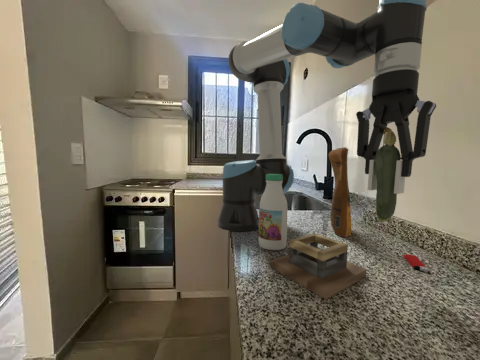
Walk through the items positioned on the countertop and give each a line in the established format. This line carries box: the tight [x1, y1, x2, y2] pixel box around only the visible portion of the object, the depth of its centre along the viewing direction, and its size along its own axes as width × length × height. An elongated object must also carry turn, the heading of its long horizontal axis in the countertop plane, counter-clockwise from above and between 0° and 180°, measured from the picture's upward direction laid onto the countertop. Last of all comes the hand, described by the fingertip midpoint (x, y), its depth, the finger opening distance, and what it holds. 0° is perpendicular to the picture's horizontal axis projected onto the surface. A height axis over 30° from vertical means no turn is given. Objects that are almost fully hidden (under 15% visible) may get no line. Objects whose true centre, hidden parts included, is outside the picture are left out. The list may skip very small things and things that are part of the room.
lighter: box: [403, 253, 432, 274], centre depth 52 cm, size 3×1×8 cm
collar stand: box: [269, 232, 368, 300], centre depth 48 cm, size 14×14×6 cm
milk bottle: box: [258, 174, 289, 251], centre depth 62 cm, size 8×8×20 cm
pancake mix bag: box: [328, 146, 353, 239], centre depth 76 cm, size 7×19×28 cm, turn 165°
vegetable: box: [375, 126, 402, 223], centre depth 47 cm, size 4×4×20 cm
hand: (384, 191), depth 47 cm, fingers closed on vegetable, 4 cm apart
